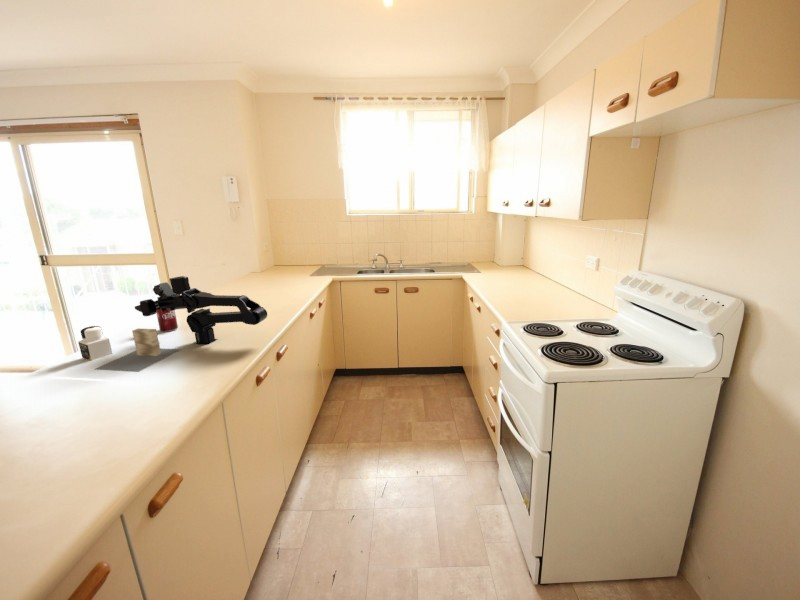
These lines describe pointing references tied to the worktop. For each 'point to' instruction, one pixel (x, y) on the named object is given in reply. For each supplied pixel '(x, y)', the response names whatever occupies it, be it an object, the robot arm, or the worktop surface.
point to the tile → (146, 342)
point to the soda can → (167, 320)
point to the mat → (136, 361)
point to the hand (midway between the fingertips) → (144, 305)
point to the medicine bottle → (94, 343)
